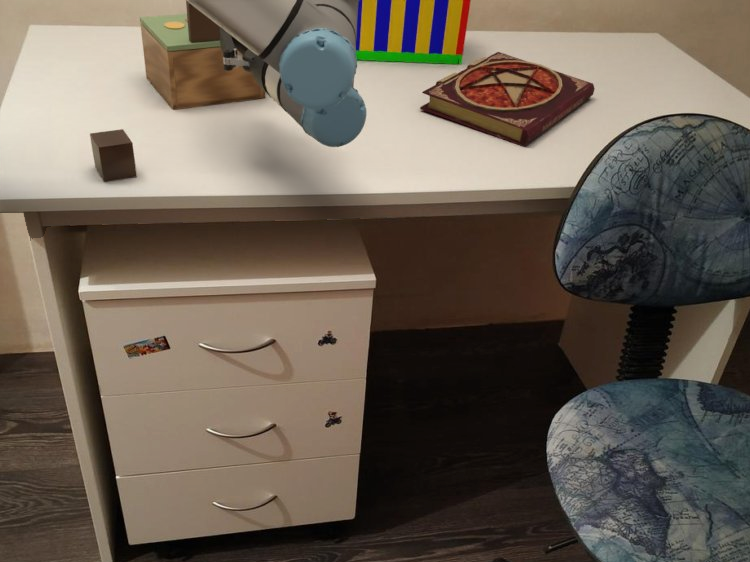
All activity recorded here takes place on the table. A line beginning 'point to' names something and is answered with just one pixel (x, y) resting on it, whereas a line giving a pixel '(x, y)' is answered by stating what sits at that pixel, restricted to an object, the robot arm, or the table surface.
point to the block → (113, 155)
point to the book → (507, 97)
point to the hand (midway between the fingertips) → (225, 18)
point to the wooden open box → (195, 76)
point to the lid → (183, 30)
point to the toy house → (412, 30)
